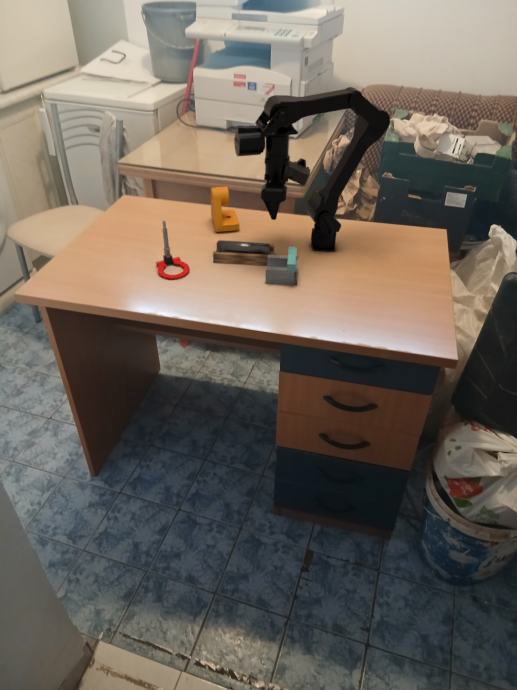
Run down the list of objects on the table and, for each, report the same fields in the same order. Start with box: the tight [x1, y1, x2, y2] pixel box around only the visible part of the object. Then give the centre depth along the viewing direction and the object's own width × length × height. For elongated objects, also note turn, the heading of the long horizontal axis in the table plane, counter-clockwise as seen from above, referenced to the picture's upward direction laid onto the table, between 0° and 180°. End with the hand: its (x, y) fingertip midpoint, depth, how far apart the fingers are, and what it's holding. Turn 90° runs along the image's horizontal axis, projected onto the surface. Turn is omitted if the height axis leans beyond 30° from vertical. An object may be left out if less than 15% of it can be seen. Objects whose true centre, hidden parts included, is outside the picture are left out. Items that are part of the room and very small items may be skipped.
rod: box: [216, 239, 271, 255], centre depth 139 cm, size 14×4×4 cm, turn 84°
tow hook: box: [155, 220, 191, 281], centre depth 131 cm, size 8×13×9 cm
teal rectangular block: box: [287, 246, 297, 272], centre depth 130 cm, size 2×9×2 cm, turn 175°
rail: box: [212, 240, 275, 267], centre depth 140 cm, size 16×8×3 cm, turn 85°
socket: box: [264, 254, 299, 286], centre depth 132 cm, size 8×8×4 cm
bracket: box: [210, 186, 240, 233], centre depth 152 cm, size 11×7×12 cm, turn 11°
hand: (275, 211), depth 136 cm, fingers open, 9 cm apart
